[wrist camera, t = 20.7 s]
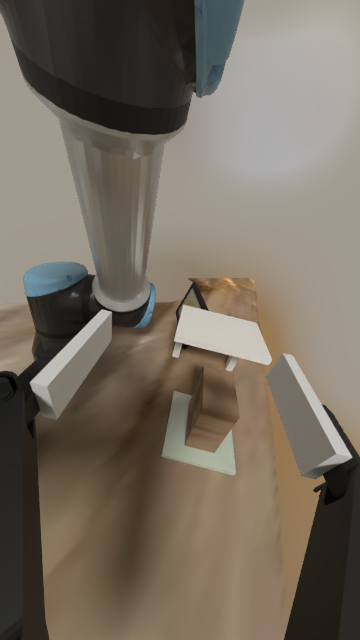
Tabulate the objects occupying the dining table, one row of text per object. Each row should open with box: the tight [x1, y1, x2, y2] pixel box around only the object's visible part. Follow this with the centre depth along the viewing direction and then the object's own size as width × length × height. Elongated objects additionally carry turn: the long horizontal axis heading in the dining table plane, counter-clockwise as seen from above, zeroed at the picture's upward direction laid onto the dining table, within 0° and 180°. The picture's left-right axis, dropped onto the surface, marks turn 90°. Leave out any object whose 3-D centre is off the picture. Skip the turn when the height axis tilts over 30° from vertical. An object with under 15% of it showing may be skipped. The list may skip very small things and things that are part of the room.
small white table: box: [172, 305, 272, 371], centre depth 48 cm, size 14×20×18 cm
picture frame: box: [176, 282, 209, 349], centre depth 68 cm, size 23×9×15 cm, turn 7°
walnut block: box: [185, 366, 240, 453], centre depth 36 cm, size 9×6×13 cm, turn 173°
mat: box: [161, 391, 236, 475], centre depth 40 cm, size 14×14×1 cm
